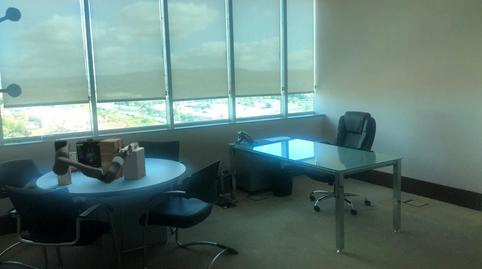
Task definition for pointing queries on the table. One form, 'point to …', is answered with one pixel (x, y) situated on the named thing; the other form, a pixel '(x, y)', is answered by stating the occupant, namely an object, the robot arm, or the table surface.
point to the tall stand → (110, 154)
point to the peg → (133, 146)
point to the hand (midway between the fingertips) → (126, 145)
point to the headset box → (89, 152)
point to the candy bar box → (73, 157)
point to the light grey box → (134, 164)
